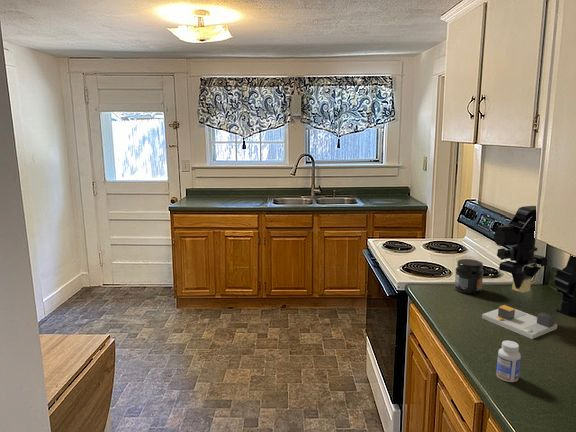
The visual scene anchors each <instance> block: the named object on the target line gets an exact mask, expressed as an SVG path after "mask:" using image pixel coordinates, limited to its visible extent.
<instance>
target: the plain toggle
mask: <svg viewBox="0 0 576 432" xmlns="http://www.w3.org/2000/svg"><path fill="white" fill-rule="evenodd" d="M536 317H537V323H539V324H542V325H544V326H547V327H551V326H553V325H554V324H555V321H556V320H555V319H556V316H554V315H552V314H549V313H546V312H543V311H542V312H541V313H540V312H539V313H538V314H537V316H536Z"/></svg>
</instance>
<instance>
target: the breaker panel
mask: <svg viewBox="0 0 576 432" xmlns="http://www.w3.org/2000/svg"><path fill="white" fill-rule="evenodd" d="M514 309H515V315H514V318H513V319H510V320H508V319H505V318H503V317H500V316H498V310H499V308H497V309H493V310H491V311H490V310H489V311H487V312H484V313H482V314H481V319H483V320H486V321H487V322H490V323H492V324H494V325H497V326H499V327H502V328H503V329H504V328H505V329H507V330H509V331H512V332H514V333H517V334H519V335H521V336H523V337H526V338H528V339H531V340H534V339H535V338H538V337H541V336H542V335H545V334H547V333H550V332H552V331H555V330H557V329H558V324H556V323H554V325H553V326H551V327H547V326H544V325H542V324H539V323H537V316H535V315H533V314H531V313H530V314H529V313H527V312H524V311H522V310H520V309H516V308H514Z"/></svg>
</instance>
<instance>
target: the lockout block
mask: <svg viewBox="0 0 576 432" xmlns="http://www.w3.org/2000/svg"><path fill="white" fill-rule="evenodd" d="M531 278H532V277H531V276H527V275H525V277H524V280H523V282H522V284H521V286H520V288H519V289H517V288H516V287H515V283H514V280H513V279H512V287H511V290H513V291H515V292H516V291H517V292H519V293H522V294H524V293H527V292H530V291H531V285H532V284H531V282H532V280H531ZM532 279H533V278H532Z"/></svg>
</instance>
